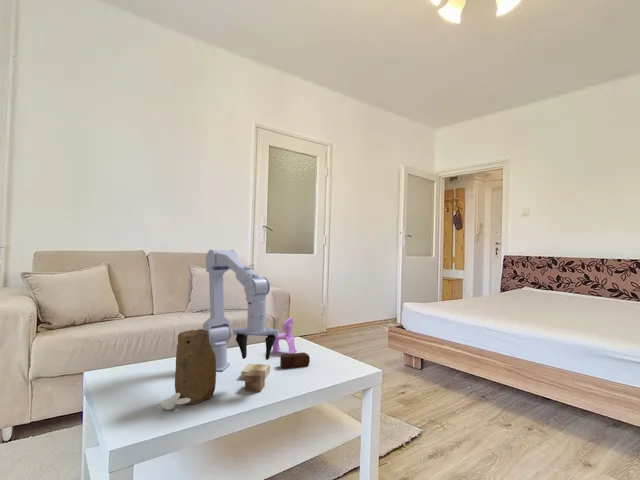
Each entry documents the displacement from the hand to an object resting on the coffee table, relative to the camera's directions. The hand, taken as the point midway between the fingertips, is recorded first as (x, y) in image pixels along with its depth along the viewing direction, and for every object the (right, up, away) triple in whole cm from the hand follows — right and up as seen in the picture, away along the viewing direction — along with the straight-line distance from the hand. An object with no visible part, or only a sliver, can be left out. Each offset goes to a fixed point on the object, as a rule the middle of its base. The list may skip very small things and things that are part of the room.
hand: (256, 358), depth 111 cm
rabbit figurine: (-19, -9, -16) cm, 27 cm away
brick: (+11, -11, +21) cm, 26 cm away
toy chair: (+5, -11, +38) cm, 40 cm away
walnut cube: (0, -10, 0) cm, 10 cm away
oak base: (-2, -10, +11) cm, 15 cm away
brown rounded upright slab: (-16, -9, -9) cm, 21 cm away
